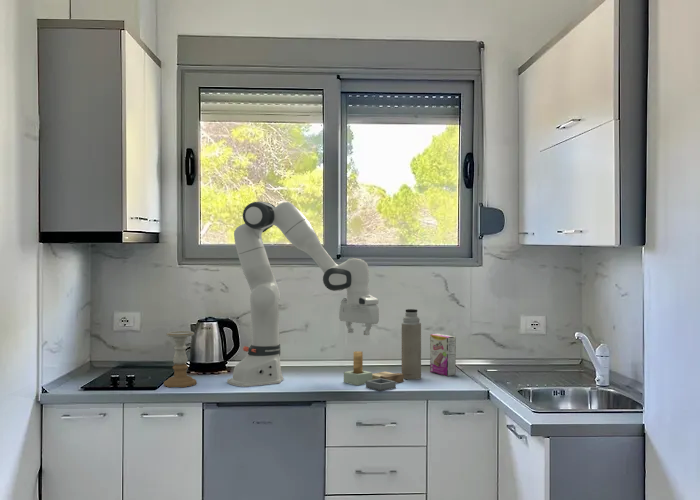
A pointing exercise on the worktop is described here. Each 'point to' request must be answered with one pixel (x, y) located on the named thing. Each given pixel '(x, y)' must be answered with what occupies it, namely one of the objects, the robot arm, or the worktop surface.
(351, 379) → the socket block
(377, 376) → the tan wooden block
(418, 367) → the thermos bottle
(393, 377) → the bar
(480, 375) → the worktop surface
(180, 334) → the candle holder
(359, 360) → the dowel
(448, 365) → the candy bar box
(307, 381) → the worktop surface
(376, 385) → the tray
